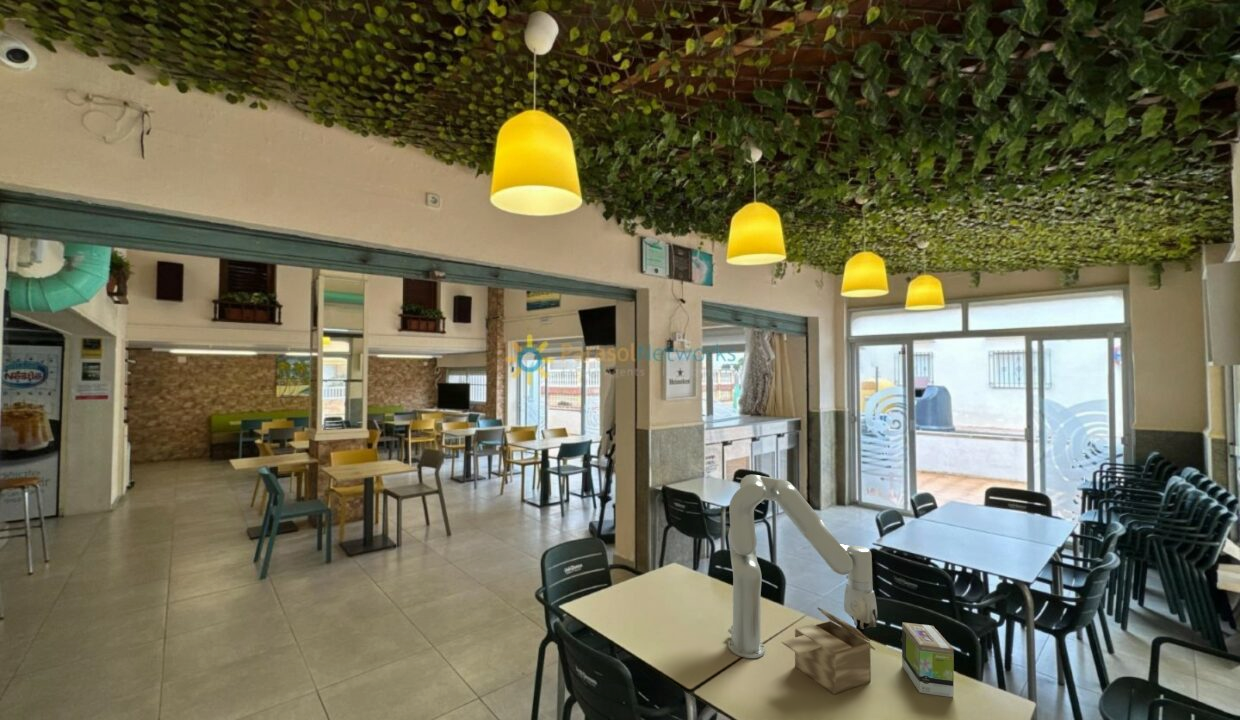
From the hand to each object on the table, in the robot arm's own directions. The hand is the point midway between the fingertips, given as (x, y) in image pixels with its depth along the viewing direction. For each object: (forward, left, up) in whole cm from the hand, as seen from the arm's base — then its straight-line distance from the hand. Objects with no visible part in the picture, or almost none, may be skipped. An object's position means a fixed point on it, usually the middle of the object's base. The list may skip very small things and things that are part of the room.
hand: (861, 638), depth 168 cm
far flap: (+2, -8, +5) cm, 9 cm away
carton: (+2, -16, -7) cm, 18 cm away
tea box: (+17, +9, -8) cm, 20 cm away
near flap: (+2, -24, +5) cm, 25 cm away
